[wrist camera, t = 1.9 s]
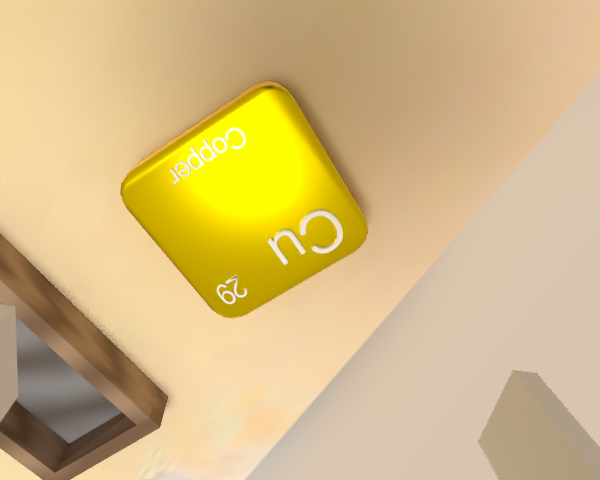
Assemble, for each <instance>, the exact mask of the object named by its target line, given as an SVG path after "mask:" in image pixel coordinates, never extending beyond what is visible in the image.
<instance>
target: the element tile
mask: <svg viewBox="0 0 600 480" xmlns="http://www.w3.org/2000/svg"><path fill="white" fill-rule="evenodd" d="M121 196H122V199H123V203H124V204H125V206H126V208H127V209H128V210H129V212H130V213H131V214H132V215H133V216H134V217H135V219H136V220H137V221H138V222H139V223H140V225H141V226H142V227H143V228H144V229H145V231H146V232H147V233H148V234H149V235H150V236H151V238H152V239H153V240H154V241H155V242H156V244H157V245H158V246H159V247H160V248H161V250H162V251H163V252H164V253H165V254H166V255H167V257H168V258H169V259H170V260H171V261H172V263H173V264H174V265H175V266H176V267H177V268H178V270H179V271H180V272H181V273H182V274H183V276H184V277H185V278H186V279H187V280H188V282H189V283H190V284H191V285H192V286H193V287H194V289H195V290H196V291H197V292H198V293H199V295H200V296H201V297H202V298H203V299H204V301H205V302H206V303H207V304H208V305H209V306H210V308H211V309H212V310H213V311H214V312H216V313H217V314H219V315H221V316H223V317H227V318H237V317H241V316H244V315H246V314H248V313H250V312H252V311H253V310H255V309H257V308H258V307H260V306H262V305H264V304H265V303H267V302H269V301H270V300H272V299H274V298H276V297H277V296H279V295H281V294H282V293H284V292H286V291H288V290H289V289H291V288H293V287H294V286H296V285H298V284H300V283H301V282H303V281H305V280H306V279H308V278H310V277H312V276H313V275H315V274H317V273H318V272H320V271H322V270H324V269H325V268H327V267H329V266H330V265H332V264H334V263H336V262H337V261H339V260H341V259H342V258H344V257H346V256H348V255H349V254H351V253H353V252H354V251H355V250H357V249H358V248H359V247H360V246H361V245H362V244H363V243H364V241H365V240H366V237H367V233H368V229H367V222H366V218H365V217H364V215H363V213H362V212H361V210H360V208H359V207H358V205H357V203H356V202H355V200H354V198H353V197H352V195H351V193H350V192H349V190H348V188H347V187H346V185H345V183H344V182H343V180H342V178H341V177H340V175H339V173H338V171H337V170H336V168H335V166H334V165H333V163H332V161H331V160H330V158H329V156H328V155H327V153H326V151H325V150H324V148H323V146H322V145H321V143H320V141H319V140H318V138H317V136H316V135H315V133H314V131H313V130H312V128H311V126H310V124H309V123H308V121H307V119H306V118H305V116H304V114H303V113H302V111H301V109H300V108H299V106H298V104H297V103H296V101H295V99H294V98H293V96H292V95H291V94H290V93H289V91H288V90H287V89H286V88H284V87H283V86H282V85H280V84H279V83H275V82H271V81H267V82H261V83H258V84H256V85H254V86H252V87H250V88H249V89H247V90H246V91H244V92H243V93H241V94H240V95H238V96H237V97H235V98H234V99H232V100H231V101H229V102H228V103H226V104H225V105H223V106H222V107H221V108H219V109H218V110H216V111H215V112H213V113H212V114H210V115H209V116H207V117H206V118H204V119H203V120H201V121H200V122H198V123H197V124H195V125H194V126H192V127H191V128H189V129H188V130H186V131H185V132H183V133H182V134H180V135H179V136H177V137H176V138H174V139H173V140H171V141H170V142H168V143H167V144H165V145H164V146H162V147H161V148H159V149H158V150H156V151H155V152H153V153H152V154H150V155H149V156H147V157H146V158H144V159H143V160H142V161H141V162H140V163H139V164H138V165H137V166H135V167H134V168H133V169H132V170H131V171H130V172H129V173H128V174H127V175H126V177H125V178H124V180H123V182H122V183H121Z"/></svg>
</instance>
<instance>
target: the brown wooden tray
mask: <svg viewBox="0 0 600 480" xmlns="http://www.w3.org/2000/svg"><path fill="white" fill-rule="evenodd" d="M0 304H2V305H9V306H15V312H16V343H17V373H18V397H17V399H16V400H15V402H14V403H13V404H12V406H11V407H10V409H9V410H8V412H7V413H6V415H5V416H4V418H3V419H2V420H1V422H0V448H1V449H2V450H4V451H5V452H6V453H8V454H9V455H10V456H12V457H13V458H14V459H16V460H17V461H18V462H20V463H21V464H22V465H24V466H25V467H26V468H28V469H29V470H30V471H32V472H33V473H34V474H36V475H37V476H39V477H40V478H41V479H43V480H70V479H72V478H74V477H75V476H77V475H79V474H80V473H82V472H84V471H86V470H87V469H89V468H91V467H93V466H94V465H96V464H98V463H99V462H101V461H103V460H105V459H106V458H108V457H110V456H112V455H113V454H115V453H117V452H118V451H120V450H122V449H124V448H125V447H127V446H129V445H131V444H132V443H134V442H136V441H137V440H139V439H141V438H143V437H144V436H146V435H148V434H150V433H151V432H153V431H155V430H156V429H158V428H160V425H161V422H162V418H163V414H164V410H165V406H166V402H167V398H168V397H167V396H166V395H165V394H164V393H163V392H162V391H161V390H160V389H159V388H158V387H157V386H156V385H155V384H154V383H153V382H152V381H151V380H150V379H149V378H148V377H147V376H146V375H145V374H144V373H143V372H142V371H140V370H139V369H138V368H137V367H136V366H135V365H134V364H133V363H132V362H131V361H130V360H129V359H128V358H127V357H126V356H125V355H124V354H123V353H122V352H121V351H120V350H119V349H118V348H117V347H116V346H115V345H114V344H113V343H112V342H111V341H110V340H109V339H108V338H107V337H105V336H104V335H103V334H102V333H101V332H100V331H99V330H98V329H97V328H96V327H95V326H94V325H93V324H92V323H91V322H90V321H89V320H88V319H87V318H86V317H85V316H84V315H83V314H82V313H81V312H80V311H79V310H78V309H77V308H76V307H75V306H74V305H73V304H72V303H70V302H69V301H68V300H67V299H66V298H65V297H64V296H63V295H62V294H61V293H60V292H59V291H58V290H57V289H56V288H55V287H54V286H53V285H52V284H51V283H50V282H49V281H48V280H47V279H46V278H45V277H44V276H43V275H42V274H41V273H40V272H39V271H38V270H37V269H35V268H34V267H33V266H32V265H31V264H30V263H29V262H28V261H27V260H26V259H25V258H24V257H23V256H22V255H21V254H20V253H19V252H18V251H17V250H16V249H15V248H14V247H13V246H12V245H11V244H10V243H9V242H8V241H7V240H6V239H5V238H4V237H3V236H1V235H0Z"/></svg>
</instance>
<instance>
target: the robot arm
mask: <svg viewBox="0 0 600 480" xmlns="http://www.w3.org/2000/svg"><path fill="white" fill-rule="evenodd" d="M17 397H18V373H17V343H16V312H15V306H9V305H2V304H0V422H1V420H2V419H3V418H4V416H5V415H6V413H7V412H8V410H9V409H10V407H11V406H12V404H13V403H14V402H15V400H16V399H17ZM478 443H479V444H480V446H481V448H482V450H483V452H484V453H485V455H486V457H487V459H488V461H489V462H490V464H491V466H492V468H493V470H494V472H495V473H496V475H497V477H498V479H499V480H600V447H599V446H598V445H597V444H596V442H595V441H594V440H593V439H592V438H591V437H590V435H589V434H588V433H587V432H586V431H585V430H584V429H583V427H582V426H581V425H580V424H579V422H578V421H577V420H576V419H575V418H574V417H573V415H572V414H571V413H570V412H569V411H568V409H567V408H566V407H565V406H564V405H563V403H562V402H561V401H560V400H559V399H558V398H557V396H556V395H555V394H554V393H553V392H552V390H551V389H550V388H549V387H548V386H547V385H546V383H545V382H544V381H543V380H542V379H541V377H540V376H539V375H538V374H537V373H531V372H522V371H515V370H513V371H512V373H511V375H510V377H509V379H508V381H507V383H506V385H505V387H504V389H503V391H502V393H501V395H500V398H499V400H498V402H497V404H496V406H495V408H494V410H493V412H492V414H491V416H490V418H489V420H488V422H487V424H486V426H485V428H484V430H483V432H482V434H481V437H480V438H479V440H478Z"/></svg>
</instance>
